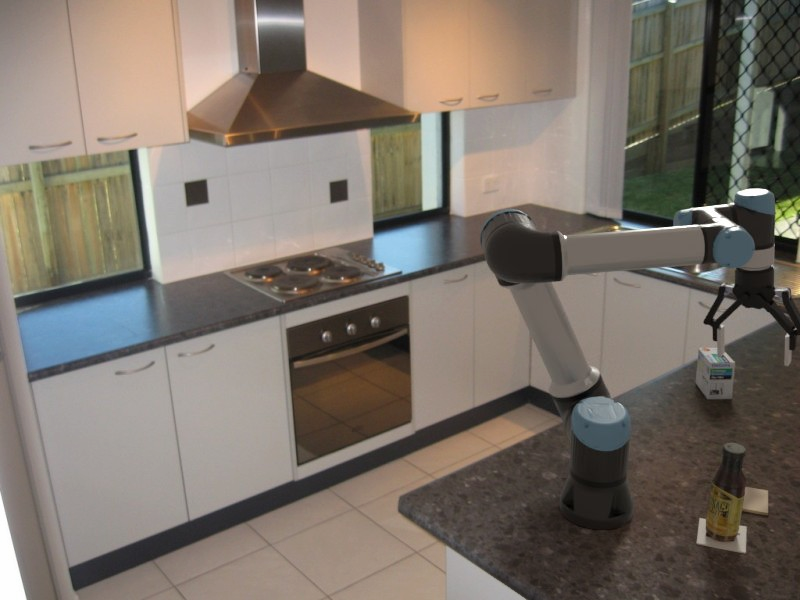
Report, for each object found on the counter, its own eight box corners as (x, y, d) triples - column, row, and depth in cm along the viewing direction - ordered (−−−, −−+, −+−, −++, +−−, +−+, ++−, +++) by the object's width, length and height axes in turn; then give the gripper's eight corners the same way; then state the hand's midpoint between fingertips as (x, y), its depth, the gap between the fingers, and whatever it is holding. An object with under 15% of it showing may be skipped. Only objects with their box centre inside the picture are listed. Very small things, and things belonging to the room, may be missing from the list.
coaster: (721, 507, 178) (721, 504, 178) (723, 485, 186) (723, 483, 186) (767, 515, 175) (768, 513, 175) (767, 492, 183) (767, 490, 182)
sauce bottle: (698, 529, 170) (707, 442, 164) (722, 521, 173) (732, 435, 166) (721, 547, 165) (732, 457, 158) (746, 539, 167) (757, 450, 160)
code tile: (696, 544, 166) (696, 542, 166) (699, 519, 174) (699, 517, 174) (745, 553, 163) (745, 552, 163) (746, 527, 171) (746, 526, 171)
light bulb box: (732, 399, 225) (736, 362, 221) (706, 400, 225) (710, 363, 221) (718, 382, 235) (722, 346, 231) (694, 383, 235) (697, 347, 231)
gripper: (824, 263, 169) (821, 359, 177) (698, 255, 184) (700, 344, 191) (816, 275, 164) (813, 374, 171) (687, 266, 178) (689, 358, 186)
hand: (753, 359), depth 181 cm, fingers open, 13 cm apart
